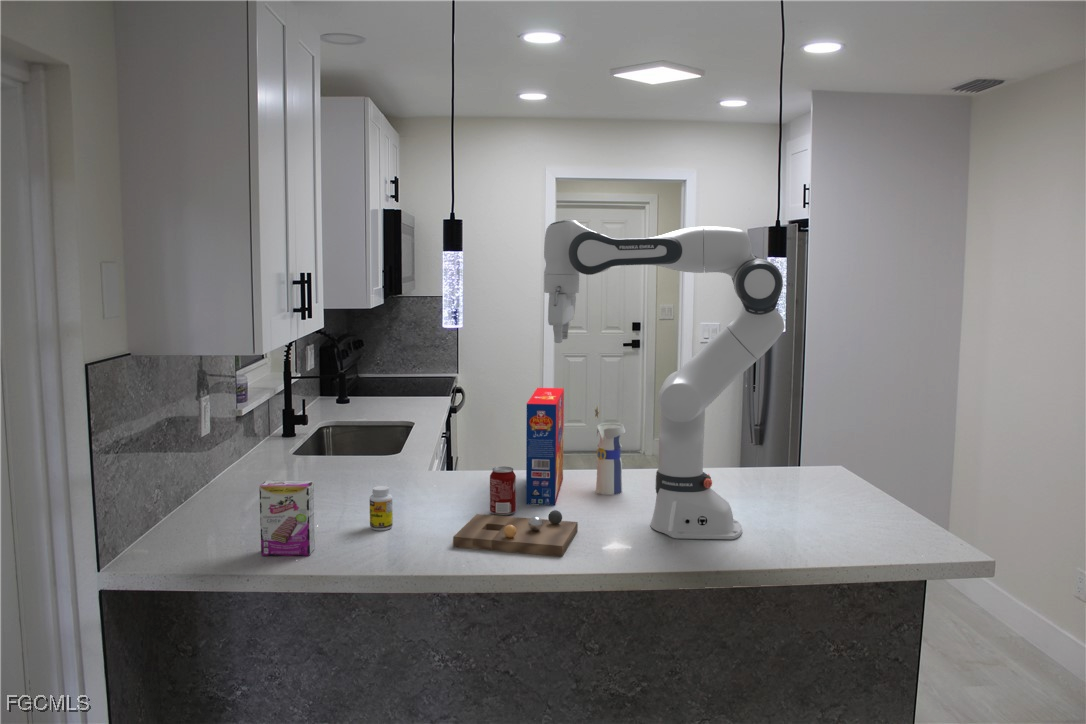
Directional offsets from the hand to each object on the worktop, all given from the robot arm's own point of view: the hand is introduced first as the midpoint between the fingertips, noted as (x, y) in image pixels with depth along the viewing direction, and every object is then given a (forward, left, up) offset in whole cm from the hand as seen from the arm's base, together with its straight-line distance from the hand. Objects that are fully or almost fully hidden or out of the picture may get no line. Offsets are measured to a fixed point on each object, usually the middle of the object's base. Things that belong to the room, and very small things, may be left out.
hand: (561, 340), depth 215 cm
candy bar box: (+55, +40, -47) cm, 82 cm away
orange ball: (+7, +24, -42) cm, 49 cm away
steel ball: (+2, +18, -42) cm, 46 cm away
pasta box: (+10, -25, -47) cm, 54 cm away
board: (+7, +18, -46) cm, 50 cm away
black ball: (-1, +12, -42) cm, 44 cm away
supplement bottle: (+42, +18, -47) cm, 65 cm away
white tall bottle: (-8, -29, -46) cm, 55 cm away
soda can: (+16, -1, -47) cm, 49 cm away
